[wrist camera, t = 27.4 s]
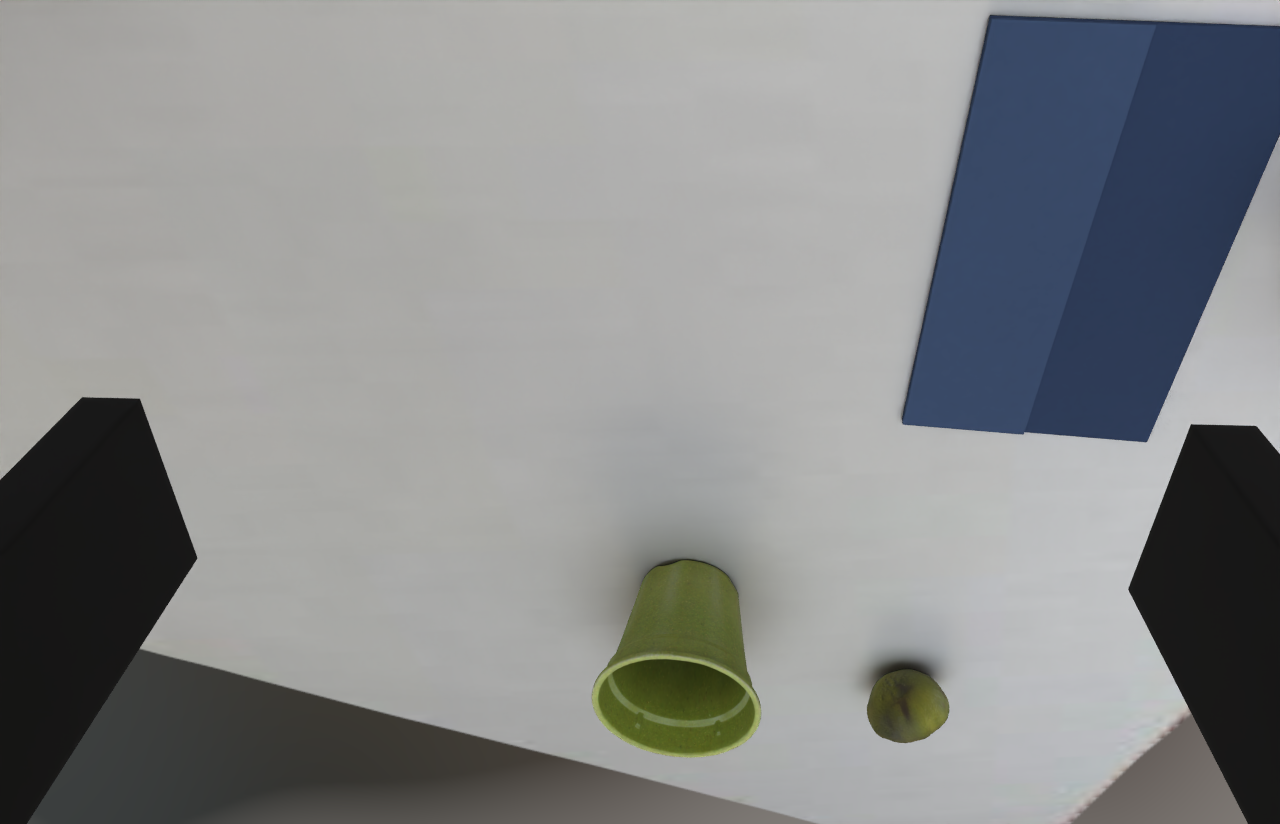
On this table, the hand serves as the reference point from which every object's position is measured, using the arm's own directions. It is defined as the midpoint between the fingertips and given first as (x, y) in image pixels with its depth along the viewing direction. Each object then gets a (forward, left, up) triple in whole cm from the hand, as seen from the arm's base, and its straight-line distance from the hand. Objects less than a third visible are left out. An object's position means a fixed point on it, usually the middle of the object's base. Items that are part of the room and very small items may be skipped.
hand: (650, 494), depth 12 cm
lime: (+43, +13, -31) cm, 55 cm away
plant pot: (+37, -1, -31) cm, 49 cm away
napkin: (+12, +15, -31) cm, 37 cm away
